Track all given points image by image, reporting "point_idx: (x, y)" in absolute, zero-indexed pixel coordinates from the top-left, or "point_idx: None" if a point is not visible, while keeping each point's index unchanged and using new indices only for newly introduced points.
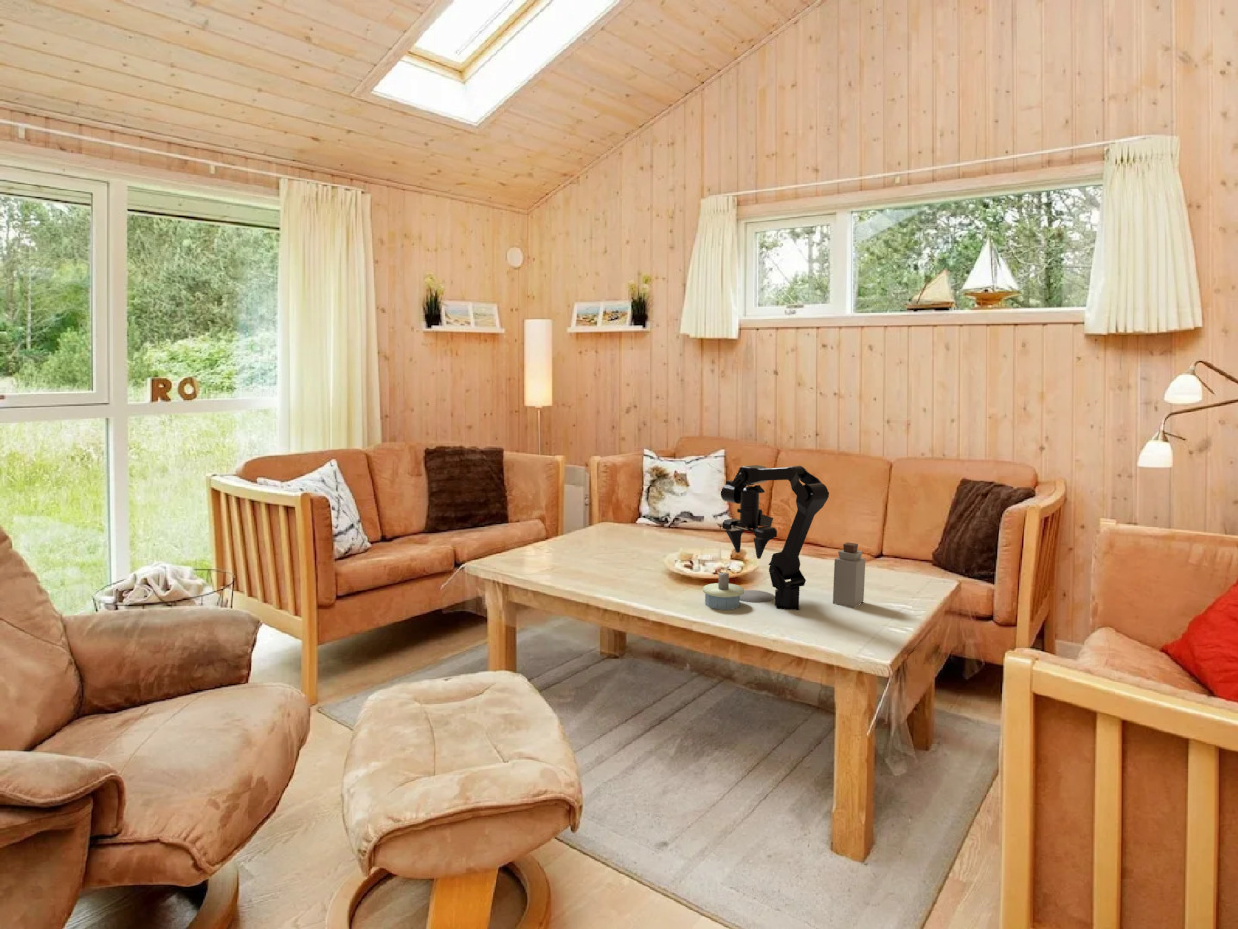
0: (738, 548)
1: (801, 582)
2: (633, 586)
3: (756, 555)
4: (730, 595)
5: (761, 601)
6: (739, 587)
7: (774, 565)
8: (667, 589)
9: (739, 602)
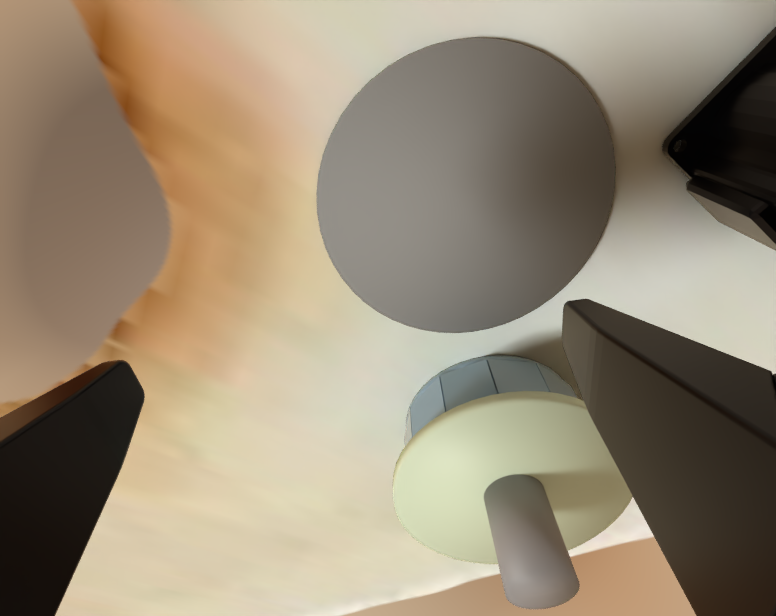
0: (100, 425)
1: None
2: (89, 569)
3: (581, 392)
4: (619, 507)
5: (582, 233)
6: (552, 420)
7: None
8: (161, 498)
9: (565, 388)
